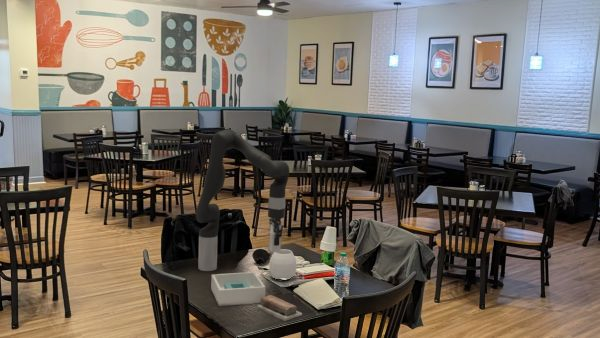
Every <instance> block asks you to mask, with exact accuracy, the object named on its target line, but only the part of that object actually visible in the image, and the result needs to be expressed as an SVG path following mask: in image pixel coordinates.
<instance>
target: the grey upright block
mask: <svg viewBox="0 0 600 338" xmlns="http://www.w3.org/2000/svg"><path fill="white" fill-rule="evenodd" d="M273 227H274V226H272V224H270V223H269V245H268V246H269V247H268V248H269V249H268V250H270V253H274V252H280V249H281V244H282V243H281V242H282V236H281V237H279V245H278V246H275V245H274V232H273ZM275 230H276V229H275Z"/></svg>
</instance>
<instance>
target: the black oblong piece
mask: <svg viewBox="0 0 600 338" xmlns="http://www.w3.org/2000/svg"><path fill="white" fill-rule="evenodd" d="M271 257H272V252H271V251H270V250H269V249H268V250H266V249H263V248H257V249H255V250H254V251H253V252H252V259H253V261H254V262H255V264H257V265H258V266H262V265H264V264H266V263H268V261H270V259H271ZM260 263H263V264H260Z"/></svg>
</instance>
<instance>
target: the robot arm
mask: <svg viewBox="0 0 600 338" xmlns="http://www.w3.org/2000/svg"><path fill="white" fill-rule="evenodd" d="M210 145H211V146H210V155H209V161H208V165H207V170H206V173H205V178H204V184H203V188H202V191H201V195H200V199H199V201H198V204H197V207H196V210H195V219H196V222H197V223H199V224H206V225H205V226H204V227H202V228H200V229H199V232H198V261H197V262H198V265H197V266H198V270H200V271H202V272H212V271H215V270H217V268H218V264H217V263H218V236H219V235H218V232H219V228H220V226H219V224H220V217H221V216H220V213H221V211H220V208H219V207H220V206H218V204H216V203H211V201H212V200H213V199H214V198H215V196H216V195H218V194H219V192H220V191H221V190H222V189H223V187H224V183H225V180H226V177H227V176H226V175H227V173H226V172H227V171H226V169H225V168H226V167H225V166H224V157H225V153H226V151H229V150H232V149H235V150H237V151H239V152H241V153H242V154H243V156H244V157H245V158H246V160H247V161H248V163H250V164H252V165H253V166H255V167H257V168H258V169H260V170H261V171H262V172H263V173H264V174H265V175H267V177H269V178H271V179H274V180H273V182H272V183H271V184H270V185H269V194H268V195H269V196H268V203H267V204H268V205H267V206H268V207H267V209H268V210H267V217H268V218H269V219H268V220H269V222H268V223H269V225H270V224H272V226H274V227H273V232H274V245H275V246H278V245H279V237H281V238H282V236H283V228H284V225H283V224H282V220H281V219H284V218H285V217H286V187H287V185H288V184H287V183H288V181H289V176H290V166H289V165H288V163H287V162H285V161H276V162H275V161H273V160H272V157H271V156H270V155H269V154H267V153H265V152H264V151H262V150H260V149H259V148H256V147H255V146H254V145H252V144H251V143H249V141H247V140H245V139H244V138H243V136H241V135H240V134H238V132H236V131H234V130H233V129H230V128H229V129H227V128H226V129H224V130H221V131H220V130H219V131H217V132H216V133H214V135H213V136H212V140H211V144H210ZM207 223H208V224H207ZM275 229H276V230H275Z"/></svg>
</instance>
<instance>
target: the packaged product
mask: <svg viewBox="0 0 600 338" xmlns="http://www.w3.org/2000/svg"><path fill="white" fill-rule="evenodd" d="M256 308H257V309H259V310H261V311H263V312H265V313H267V314H269V315H271V316H273V317H275V318H277V319H280V320H281V321H284V322H286V321H289V320H292V319H296V318H298V317H301V316H303V313H302V312H301V311H298V307H297V306H296V305H295V304H292V303H290V302H287V301H285V300H283V299H282V298H279V297H277V296H275V295H271V294H268V295H265V297H262V298H261V299H260V303H258V304H256Z"/></svg>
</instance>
